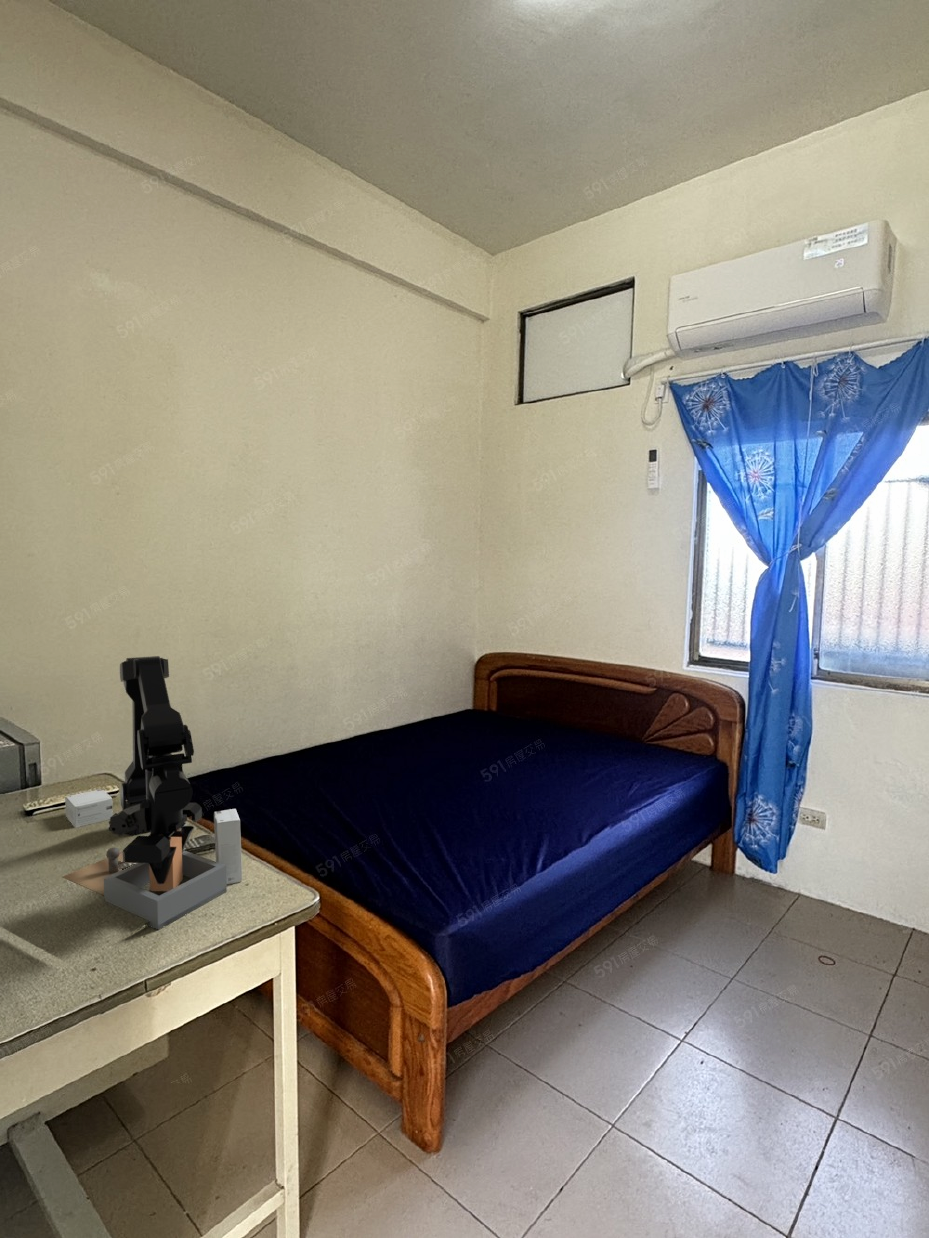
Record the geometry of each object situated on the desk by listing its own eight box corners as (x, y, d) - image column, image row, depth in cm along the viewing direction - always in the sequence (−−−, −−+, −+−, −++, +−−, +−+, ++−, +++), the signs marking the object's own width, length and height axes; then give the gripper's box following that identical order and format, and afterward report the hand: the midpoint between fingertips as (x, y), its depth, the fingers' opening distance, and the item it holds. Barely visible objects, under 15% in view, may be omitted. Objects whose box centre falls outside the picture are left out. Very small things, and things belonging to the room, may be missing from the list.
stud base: (123, 855, 132) (122, 828, 131) (163, 871, 126) (162, 843, 126) (62, 881, 122) (61, 852, 121) (103, 900, 116) (101, 869, 115)
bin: (174, 871, 126) (174, 846, 126) (226, 891, 120) (226, 865, 119) (104, 905, 114) (103, 878, 113) (158, 930, 107) (157, 901, 107)
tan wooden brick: (159, 879, 118) (158, 836, 118) (182, 879, 119) (181, 836, 118) (149, 890, 115) (148, 846, 114) (173, 891, 115) (172, 847, 114)
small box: (74, 829, 144) (73, 806, 143) (65, 817, 149) (64, 795, 149) (113, 819, 149) (113, 797, 149) (103, 808, 155) (102, 787, 154)
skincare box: (243, 881, 123) (242, 819, 122) (217, 886, 121) (216, 823, 120) (238, 867, 129) (238, 807, 127) (214, 871, 127) (213, 810, 125)
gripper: (141, 772, 124) (144, 851, 125) (88, 812, 105) (91, 905, 107) (202, 773, 124) (203, 852, 126) (159, 813, 105) (161, 906, 107)
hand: (166, 877), depth 116 cm, fingers closed on tan wooden brick, 4 cm apart
